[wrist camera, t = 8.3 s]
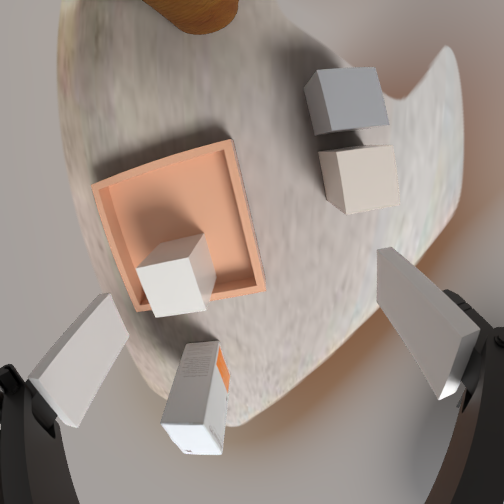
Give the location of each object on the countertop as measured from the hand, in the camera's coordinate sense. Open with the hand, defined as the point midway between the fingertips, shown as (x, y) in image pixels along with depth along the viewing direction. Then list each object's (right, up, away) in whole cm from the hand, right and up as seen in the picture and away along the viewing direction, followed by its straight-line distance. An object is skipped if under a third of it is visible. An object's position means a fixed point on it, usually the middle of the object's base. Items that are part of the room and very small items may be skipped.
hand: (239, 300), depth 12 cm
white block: (-5, +1, +14) cm, 15 cm away
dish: (-6, +4, +13) cm, 15 cm away
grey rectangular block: (+8, +15, +9) cm, 19 cm away
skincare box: (-5, -11, +19) cm, 22 cm away
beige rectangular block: (+9, +9, +11) cm, 17 cm away
